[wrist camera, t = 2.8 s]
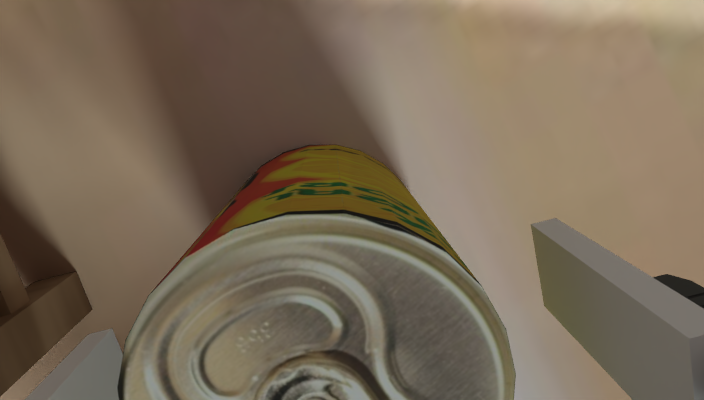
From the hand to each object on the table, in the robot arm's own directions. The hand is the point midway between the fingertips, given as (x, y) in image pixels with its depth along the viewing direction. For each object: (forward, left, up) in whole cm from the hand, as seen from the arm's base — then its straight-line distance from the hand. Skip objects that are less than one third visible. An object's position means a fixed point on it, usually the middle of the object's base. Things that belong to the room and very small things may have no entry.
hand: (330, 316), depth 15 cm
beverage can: (0, 0, -8) cm, 8 cm away
